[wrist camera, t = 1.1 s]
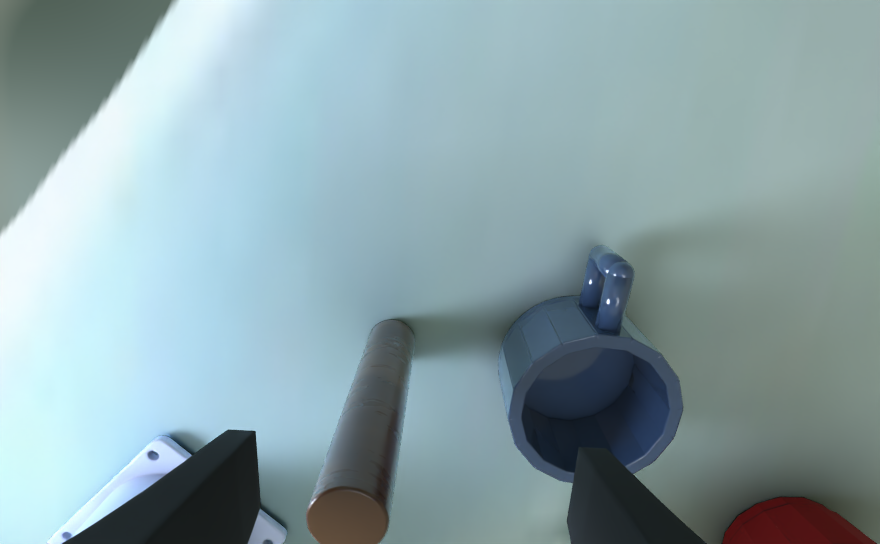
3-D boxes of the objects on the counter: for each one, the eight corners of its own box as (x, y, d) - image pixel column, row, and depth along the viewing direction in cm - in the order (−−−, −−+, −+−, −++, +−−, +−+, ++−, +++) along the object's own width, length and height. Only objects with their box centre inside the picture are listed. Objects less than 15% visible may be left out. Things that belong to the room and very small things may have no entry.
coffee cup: (621, 429, 22) (657, 493, 18) (488, 413, 22) (497, 475, 18) (671, 248, 20) (725, 279, 16) (520, 230, 20) (538, 256, 16)
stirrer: (392, 369, 21) (348, 568, 12) (359, 338, 21) (287, 520, 12) (424, 341, 21) (405, 525, 11) (392, 309, 21) (345, 473, 11)
